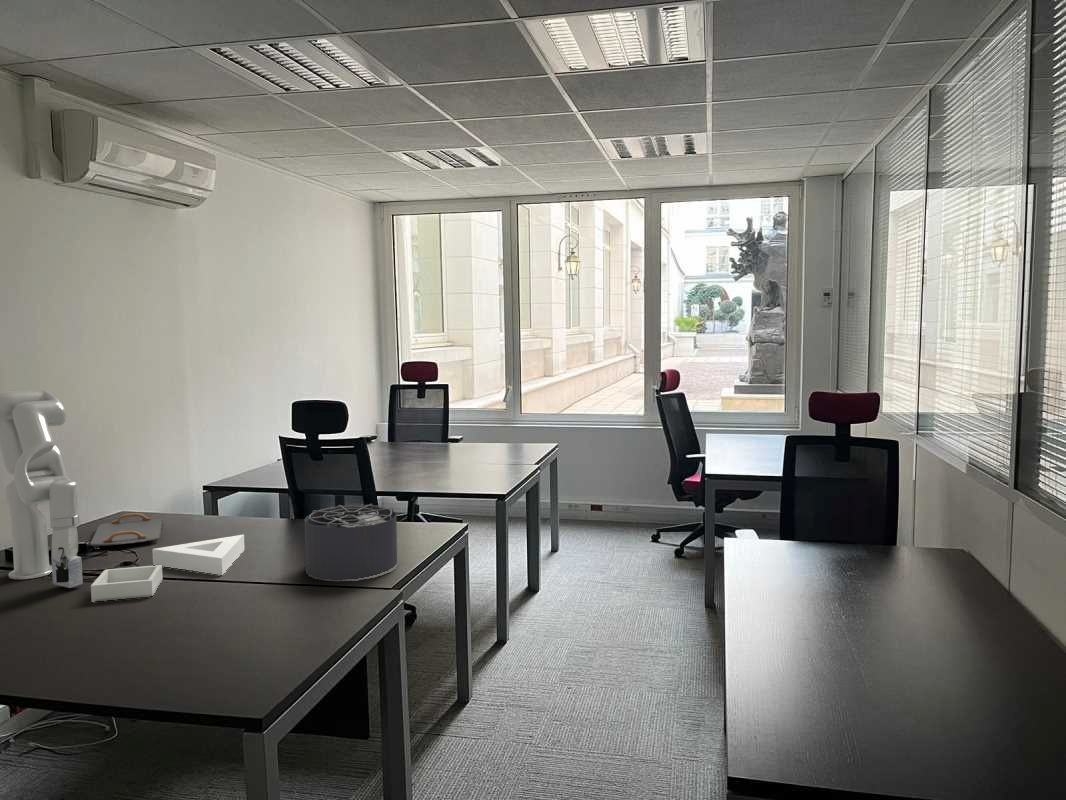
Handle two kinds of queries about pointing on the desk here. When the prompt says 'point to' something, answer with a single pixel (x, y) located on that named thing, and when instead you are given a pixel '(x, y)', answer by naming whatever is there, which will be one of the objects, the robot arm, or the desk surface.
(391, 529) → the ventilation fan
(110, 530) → the serving board
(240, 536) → the triangular ruler
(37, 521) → the robot arm
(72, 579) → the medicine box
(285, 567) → the desk surface
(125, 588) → the box
